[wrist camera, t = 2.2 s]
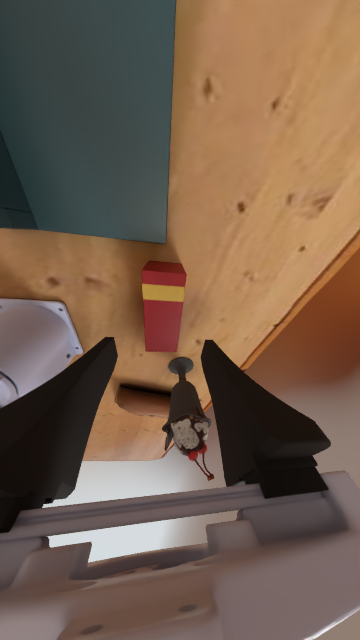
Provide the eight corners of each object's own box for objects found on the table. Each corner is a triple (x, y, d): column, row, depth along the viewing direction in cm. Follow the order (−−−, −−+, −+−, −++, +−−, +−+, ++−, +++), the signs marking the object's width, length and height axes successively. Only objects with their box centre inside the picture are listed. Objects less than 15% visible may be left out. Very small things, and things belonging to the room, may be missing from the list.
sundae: (204, 362, 27) (237, 477, 14) (183, 379, 29) (195, 489, 17) (178, 348, 24) (191, 474, 11) (158, 369, 27) (149, 490, 14)
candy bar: (175, 329, 22) (177, 352, 17) (149, 328, 21) (145, 351, 17) (182, 263, 16) (187, 273, 12) (148, 260, 16) (141, 269, 12)
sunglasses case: (112, 404, 31) (105, 428, 25) (122, 375, 32) (117, 392, 25) (181, 412, 36) (190, 434, 30) (189, 388, 37) (199, 404, 30)
